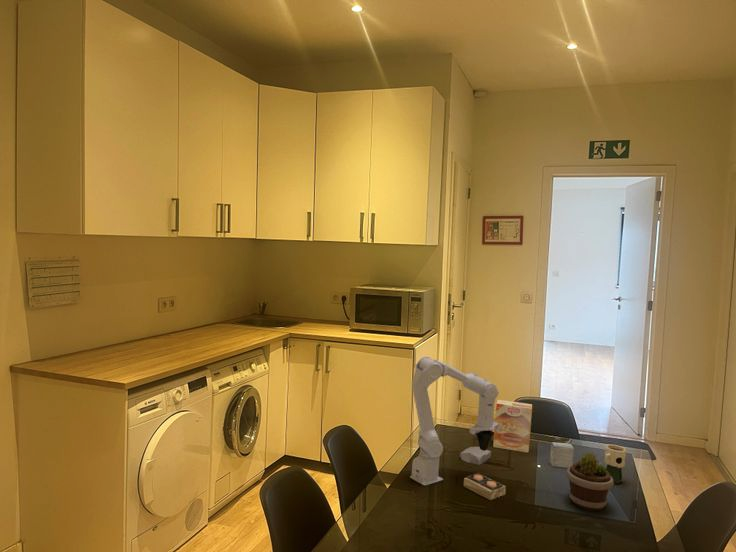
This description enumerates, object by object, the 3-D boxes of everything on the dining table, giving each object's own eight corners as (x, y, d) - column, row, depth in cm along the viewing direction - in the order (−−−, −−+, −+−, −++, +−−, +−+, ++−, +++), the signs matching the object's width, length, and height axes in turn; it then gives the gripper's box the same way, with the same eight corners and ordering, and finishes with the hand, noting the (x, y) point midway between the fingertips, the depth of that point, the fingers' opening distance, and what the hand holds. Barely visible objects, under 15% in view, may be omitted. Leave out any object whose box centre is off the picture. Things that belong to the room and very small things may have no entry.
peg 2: (491, 495, 180) (492, 485, 180) (484, 491, 183) (485, 482, 183) (497, 493, 182) (498, 483, 182) (490, 489, 185) (490, 480, 185)
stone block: (458, 464, 212) (481, 466, 206) (457, 452, 212) (480, 453, 207) (470, 457, 222) (493, 458, 216) (469, 445, 222) (491, 446, 216)
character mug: (612, 487, 194) (615, 453, 194) (595, 479, 201) (598, 446, 200) (630, 482, 200) (633, 449, 199) (613, 475, 206) (616, 442, 205)
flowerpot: (571, 489, 190) (576, 435, 189) (616, 504, 181) (621, 447, 180) (557, 503, 179) (562, 445, 178) (604, 519, 169) (610, 459, 168)
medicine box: (569, 464, 214) (571, 443, 214) (572, 469, 210) (574, 447, 209) (549, 462, 215) (551, 441, 214) (552, 466, 210) (553, 445, 210)
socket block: (490, 500, 178) (490, 489, 178) (463, 486, 187) (464, 476, 187) (505, 494, 183) (505, 484, 183) (478, 481, 192) (479, 471, 192)
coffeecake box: (492, 447, 228) (496, 403, 227) (493, 441, 235) (497, 398, 234) (528, 453, 224) (532, 408, 223) (528, 447, 231) (532, 403, 230)
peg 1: (478, 488, 185) (478, 479, 185) (471, 485, 188) (471, 475, 187) (484, 486, 187) (484, 477, 187) (477, 483, 190) (477, 473, 189)
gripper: (481, 420, 189) (478, 457, 190) (506, 414, 198) (503, 449, 198) (466, 414, 194) (463, 450, 195) (491, 409, 203) (489, 443, 204)
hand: (483, 449), depth 197 cm, fingers closed
